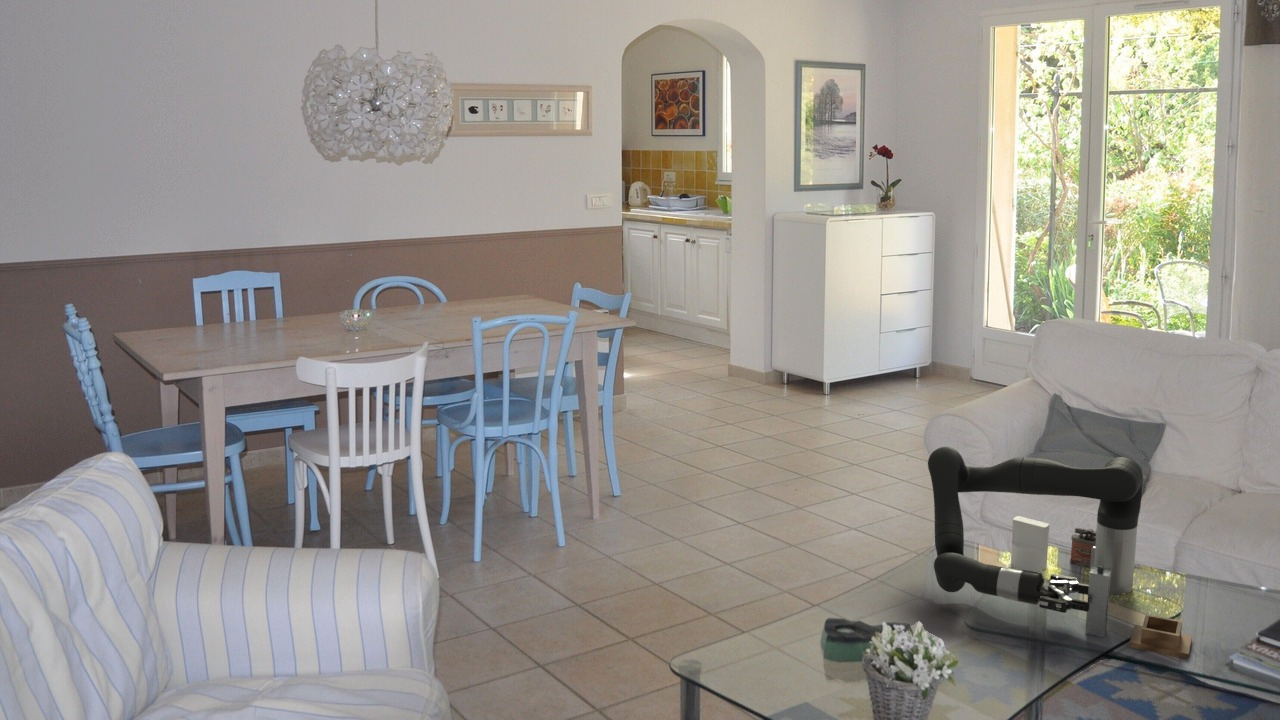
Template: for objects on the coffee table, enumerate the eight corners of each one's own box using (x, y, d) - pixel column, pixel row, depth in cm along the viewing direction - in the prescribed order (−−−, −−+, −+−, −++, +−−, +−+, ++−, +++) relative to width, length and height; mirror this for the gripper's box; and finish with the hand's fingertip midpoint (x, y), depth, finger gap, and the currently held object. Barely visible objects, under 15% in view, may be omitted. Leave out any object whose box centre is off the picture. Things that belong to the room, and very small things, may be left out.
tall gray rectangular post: (1085, 633, 258) (1090, 567, 254) (1088, 626, 262) (1092, 560, 257) (1103, 637, 256) (1108, 571, 252) (1106, 629, 260) (1111, 564, 255)
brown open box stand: (1129, 646, 252) (1130, 628, 251) (1134, 629, 259) (1135, 610, 258) (1188, 658, 246) (1190, 639, 245) (1191, 640, 254) (1193, 621, 252)
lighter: (1103, 565, 291) (1106, 530, 289) (1101, 570, 289) (1103, 534, 286) (1071, 559, 296) (1073, 524, 293) (1068, 564, 293) (1070, 528, 290)
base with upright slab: (1052, 562, 294) (1055, 520, 291) (1037, 574, 288) (1040, 531, 285) (1020, 553, 300) (1022, 512, 297) (1004, 565, 294) (1006, 522, 291)
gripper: (1013, 583, 259) (1088, 597, 251) (1026, 558, 270) (1098, 571, 262) (1012, 612, 261) (1086, 627, 253) (1025, 587, 272) (1096, 600, 264)
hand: (1092, 598), depth 258 cm, fingers open, 8 cm apart
